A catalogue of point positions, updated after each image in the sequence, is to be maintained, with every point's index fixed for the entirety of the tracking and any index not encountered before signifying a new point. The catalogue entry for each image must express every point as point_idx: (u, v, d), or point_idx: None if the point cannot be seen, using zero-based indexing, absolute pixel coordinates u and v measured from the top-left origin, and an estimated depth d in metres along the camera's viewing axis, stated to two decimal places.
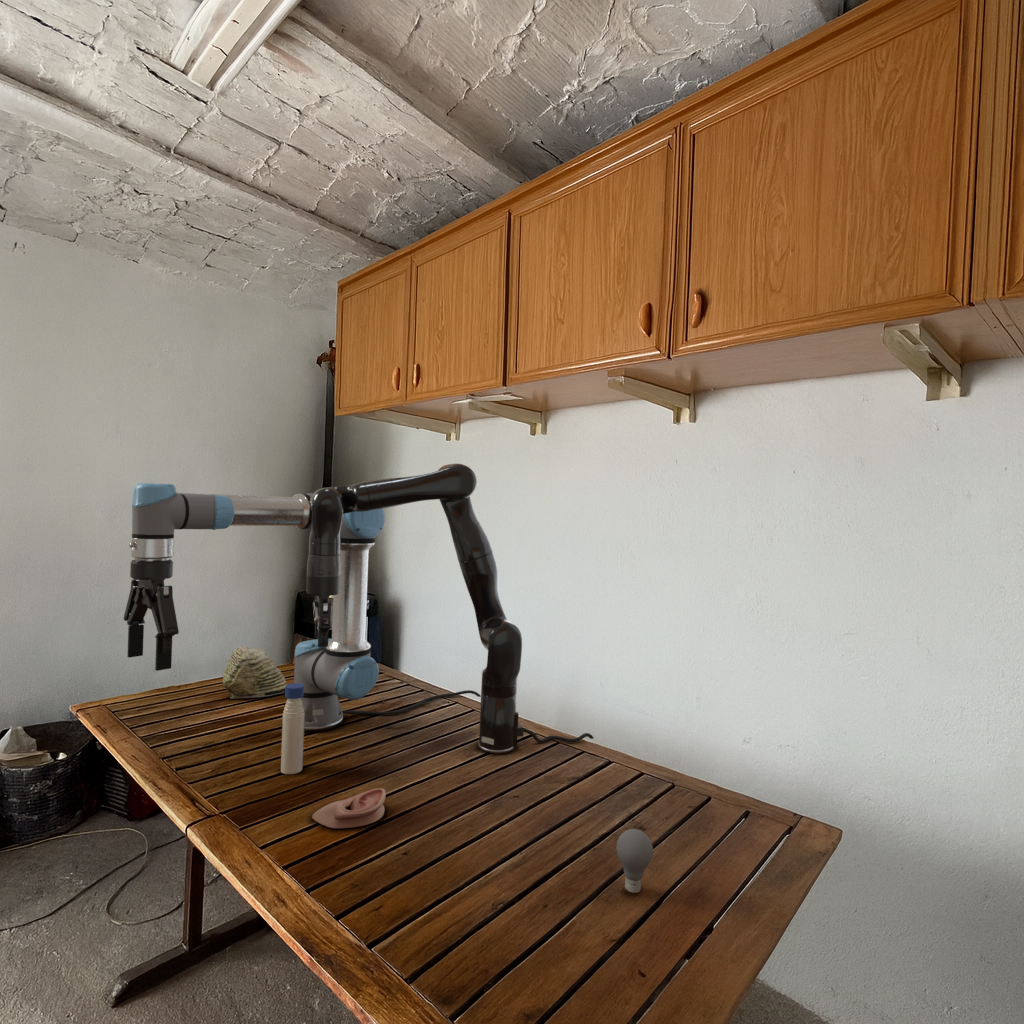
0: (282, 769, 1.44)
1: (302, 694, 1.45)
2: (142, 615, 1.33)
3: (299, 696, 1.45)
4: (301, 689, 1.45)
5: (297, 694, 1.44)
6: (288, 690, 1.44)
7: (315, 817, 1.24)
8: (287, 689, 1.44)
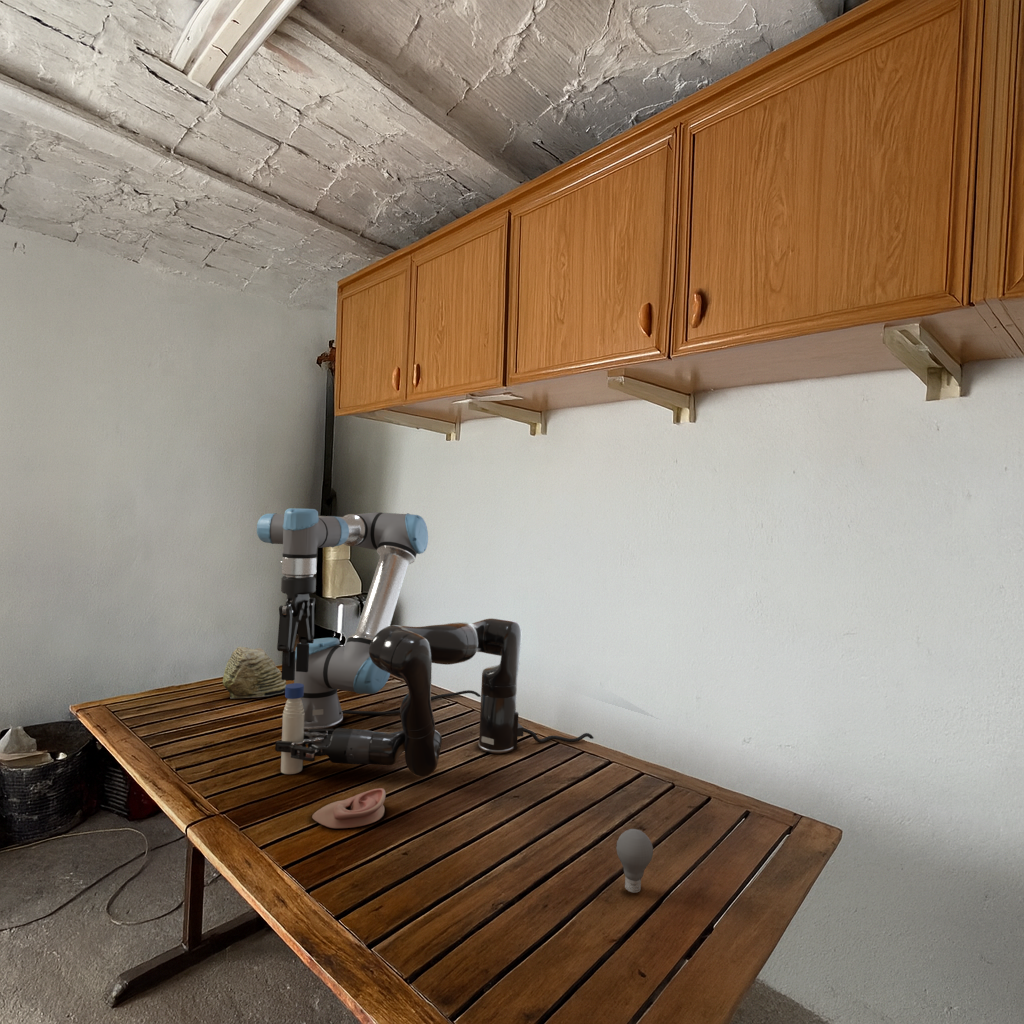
0: (282, 769, 1.44)
1: (302, 694, 1.45)
2: (305, 632, 1.49)
3: (299, 696, 1.45)
4: (301, 689, 1.45)
5: (297, 694, 1.44)
6: (288, 690, 1.44)
7: (315, 817, 1.24)
8: (287, 689, 1.44)
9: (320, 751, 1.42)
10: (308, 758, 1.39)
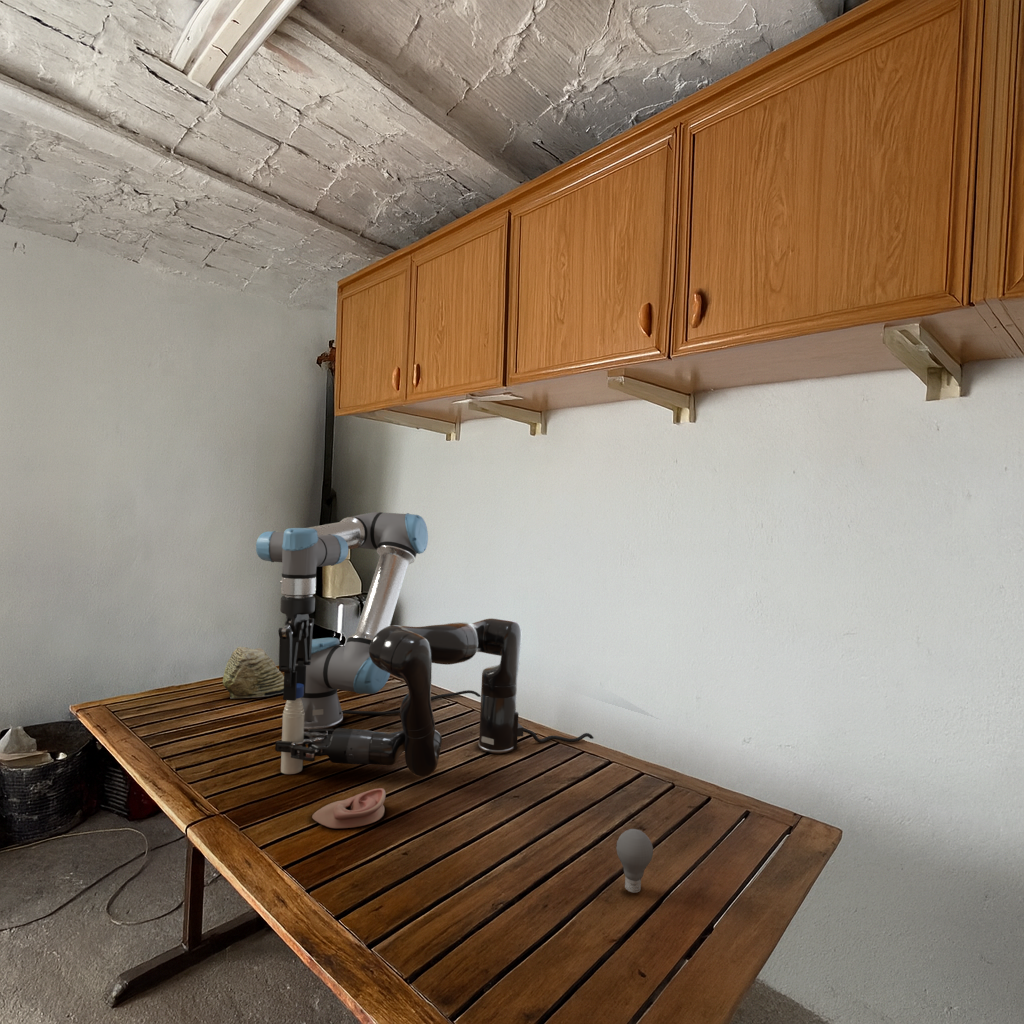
0: (282, 769, 1.44)
1: (302, 694, 1.45)
2: (303, 653, 1.48)
3: (299, 696, 1.45)
4: (301, 689, 1.45)
5: (297, 694, 1.44)
6: None
7: (315, 817, 1.24)
8: None
9: (320, 751, 1.42)
10: (308, 758, 1.39)
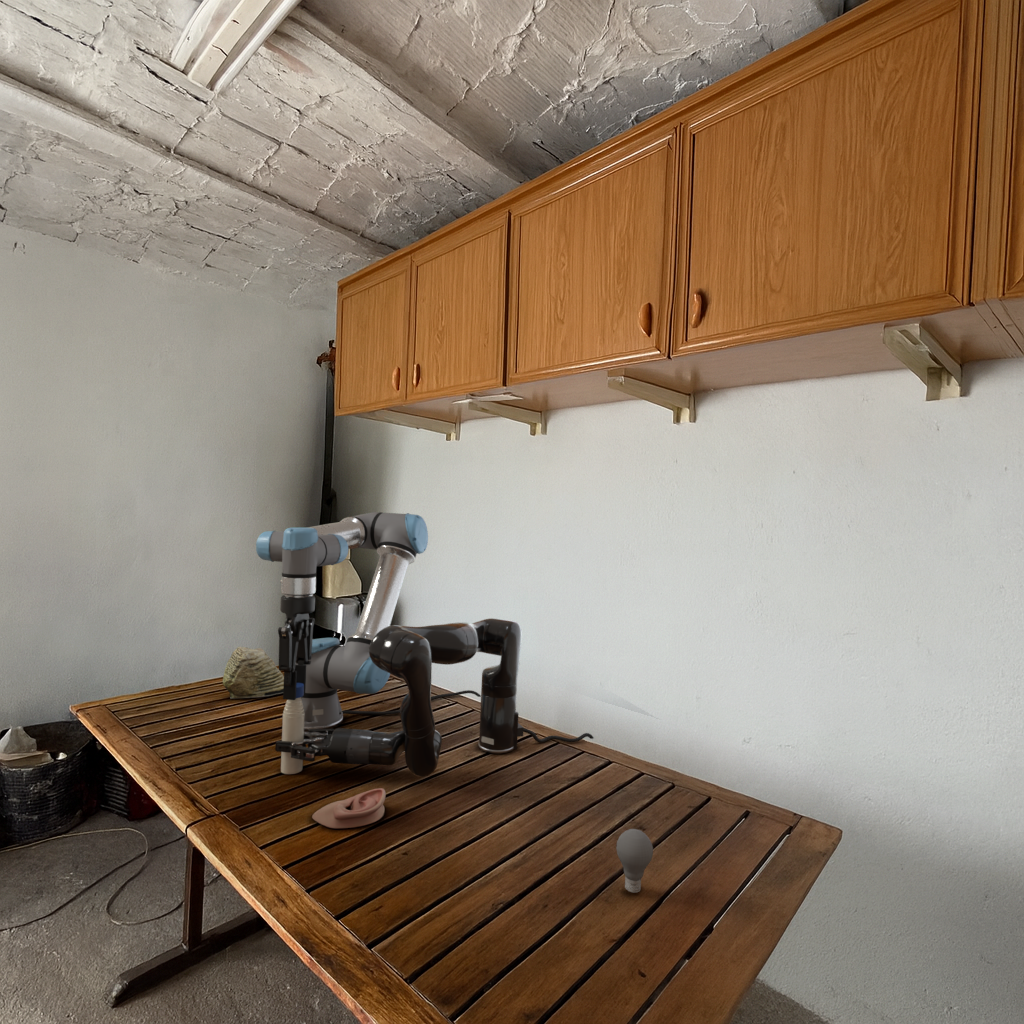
0: (282, 769, 1.44)
1: None
2: (303, 652, 1.48)
3: None
4: None
5: None
6: (303, 687, 1.46)
7: (315, 817, 1.24)
8: (303, 687, 1.46)
9: (320, 751, 1.42)
10: (308, 758, 1.39)
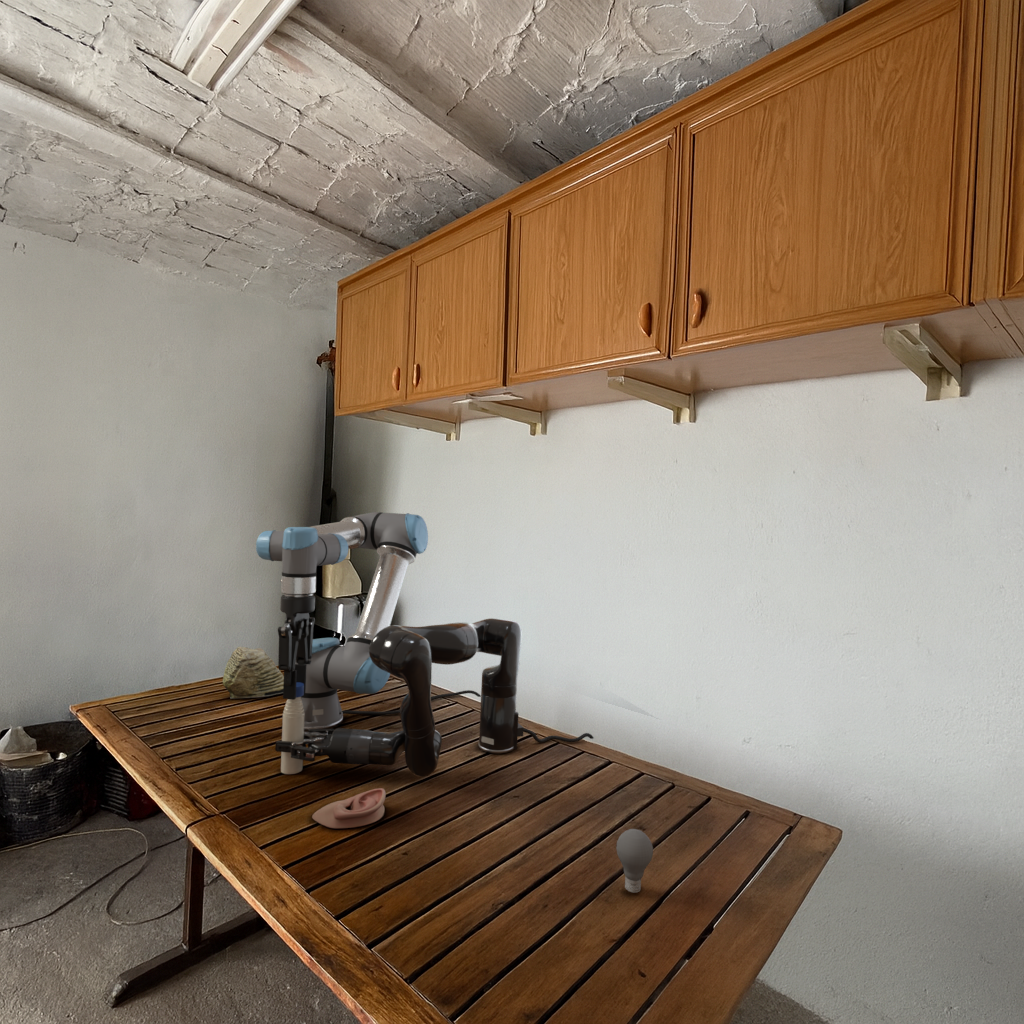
0: (282, 769, 1.44)
1: None
2: (303, 652, 1.48)
3: None
4: None
5: None
6: None
7: (315, 817, 1.24)
8: None
9: (320, 751, 1.42)
10: (308, 758, 1.39)
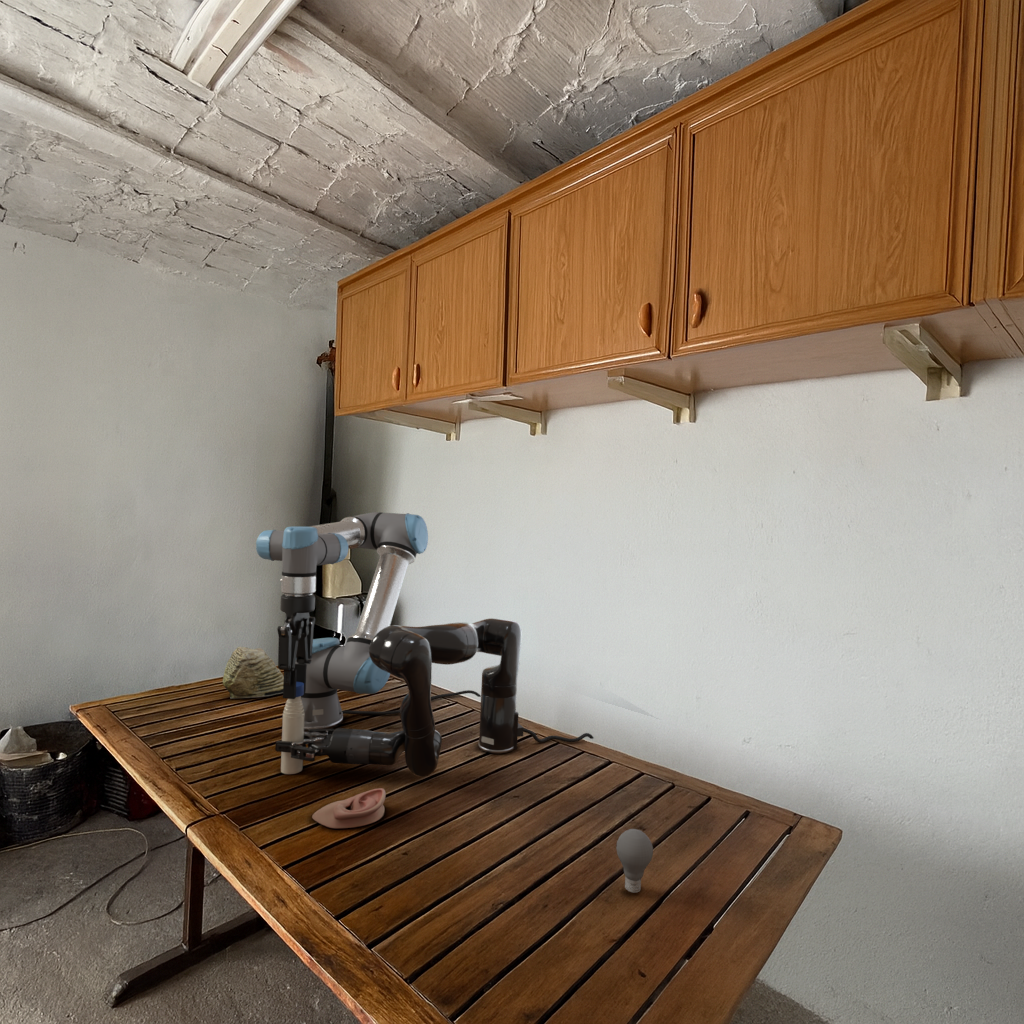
0: (282, 769, 1.44)
1: (302, 692, 1.46)
2: (303, 651, 1.48)
3: (299, 694, 1.45)
4: (301, 687, 1.45)
5: (297, 692, 1.44)
6: None
7: (315, 817, 1.24)
8: None
9: (320, 751, 1.42)
10: (308, 758, 1.39)
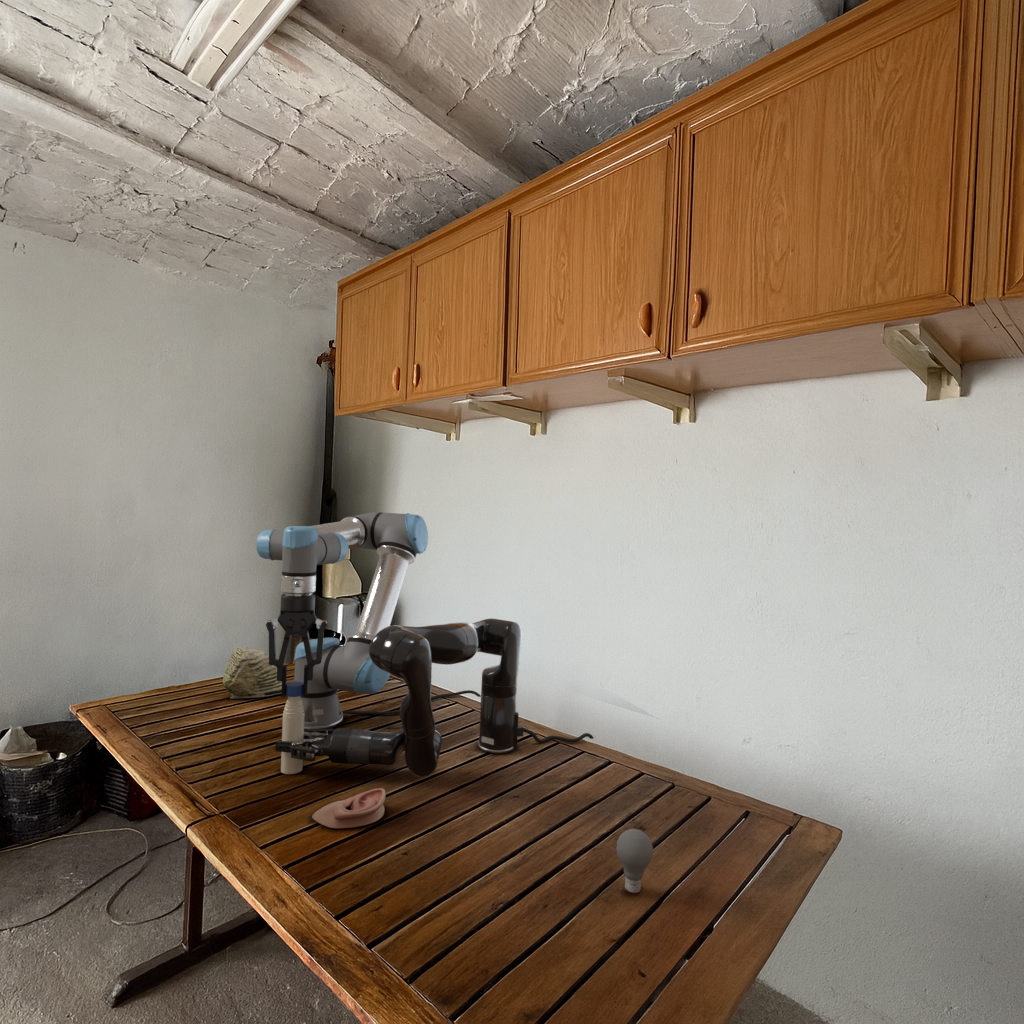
0: (282, 769, 1.44)
1: None
2: None
3: None
4: None
5: None
6: (303, 686, 1.46)
7: (315, 817, 1.24)
8: (303, 686, 1.46)
9: (320, 751, 1.42)
10: (308, 758, 1.39)
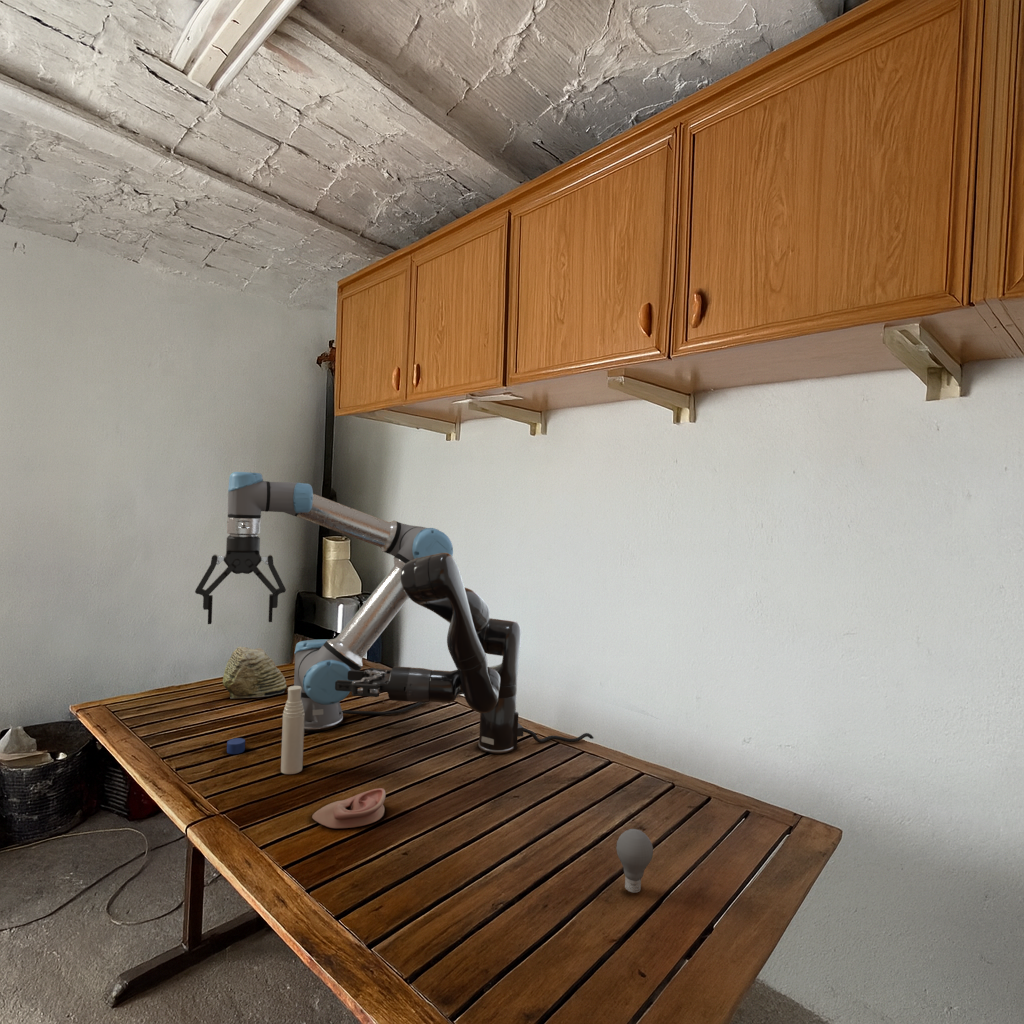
0: (282, 769, 1.44)
1: None
2: None
3: None
4: None
5: None
6: (244, 742, 1.56)
7: (315, 817, 1.24)
8: (244, 743, 1.55)
9: (381, 687, 1.40)
10: (373, 694, 1.37)
